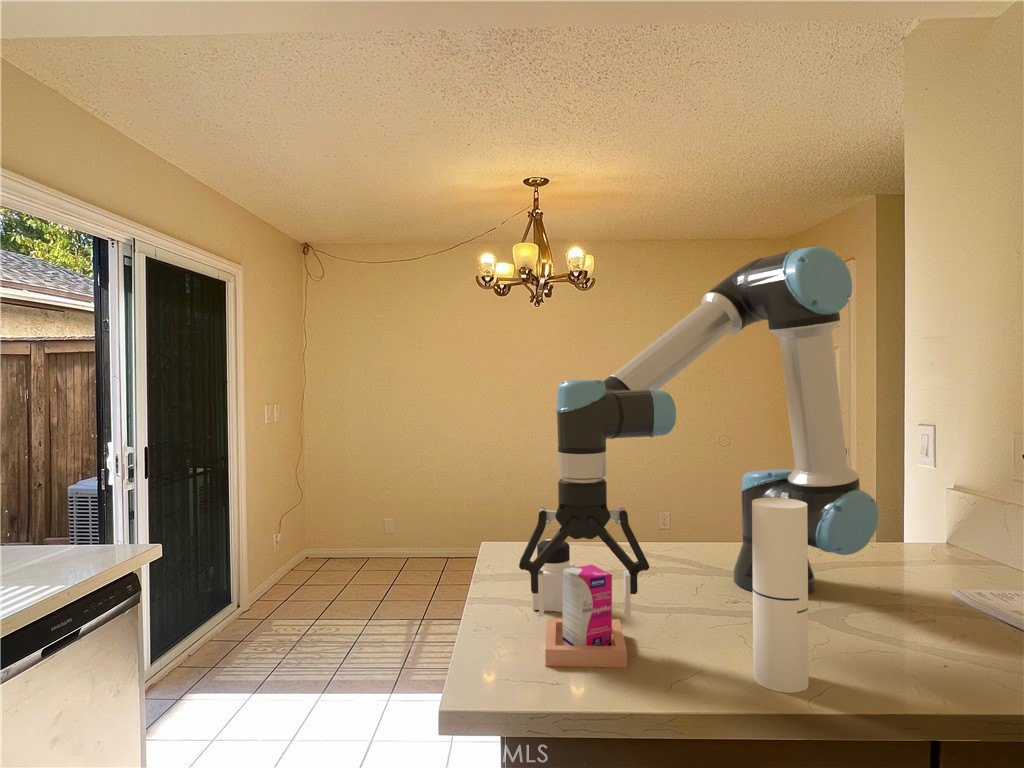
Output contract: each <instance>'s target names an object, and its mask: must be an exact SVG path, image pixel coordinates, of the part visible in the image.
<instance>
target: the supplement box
mask: <svg viewBox="0 0 1024 768" xmlns="http://www.w3.org/2000/svg"><path fill="white" fill-rule="evenodd" d="M612 612H613V575H612V573H610V572H608V571H605V570H603V569H602V568H600V567H597V566H596V565H594V564H588V565H587V564H586V565H581V566H576V567H574V568H568V569H563V612H562V619H563V640H564V641H565V642H566V643H568V644H569V645H571V646H611V645H612V619H613V618H612V617H613V616H612V614H613V613H612Z"/></svg>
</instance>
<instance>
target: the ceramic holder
mask: <svg viewBox="0 0 1024 768" xmlns="http://www.w3.org/2000/svg"><path fill="white" fill-rule="evenodd" d="M545 629H546V631H545V632H546V633H545V649H544V651H545V667H569V668H571V667H573V668H574V667H575V668H578V667H579V668H580V667H582V668H623V669H624V668H628V650H627V645H626V641H625V637H624V632H623V628H622V625H621V619H619V618H617V619H616V618H612V645H611V646H571V645H569V644H568V643H566V642H565V641H564V640H563V618H546V628H545Z"/></svg>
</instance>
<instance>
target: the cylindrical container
mask: <svg viewBox="0 0 1024 768" xmlns="http://www.w3.org/2000/svg"><path fill="white" fill-rule="evenodd" d="M808 546H809V545H808V529H807V503H805V502H803V501H799V500H794V499H787V498H758V499H754V500H752V562H753V591H752V643H753V644H752V645H753V647H752V650H753V651H752V652H753V653H752V654H753V655H752V656H753V658H752V659H753V660H752V661H753V662H752V663H753V666H752V668H753V669H752V670H753V673H752V674H753V679H754V681H755V682H756V683H757V685H760V687H763V688H766V689H767V690H768V689H769V690H770V691H775V692H778V693H784V694H785V693H786V694H787V693H788V694H795V693H800V692H803V691H805V690H807V689H808V688H809V687H810V686H809V683H810V682H809V678H810V677H809V593H808V559H809V557H808V556H809V551H808Z"/></svg>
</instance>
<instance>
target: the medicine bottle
mask: <svg viewBox="0 0 1024 768" xmlns="http://www.w3.org/2000/svg"><path fill="white" fill-rule="evenodd" d="M551 539H552V538H551ZM551 539H550V538H549V539H544V540H541V541H539V542H538V544H537V546H536V554H537V555H536V558H537V557H538V555H539V554H540V553H541V552H542V550H543V549H544V548H545V547H546V546H547V544H548V543H549V542H550V541H551ZM570 549H571V548H570V544H569V543H568V542H567V541H566V540H565V541H564V542H562V543H561V545H560V546H559V547H558V548H557V549H556V551H555V552H554V553H553V554H552V556H551V557H550V558H549V559H548V560H547V562H546V563H545V564H544V565H543V566H542V568H541V569H543V580H544V612H547V611H555V612H554V613H563V569H568V568H574V567H575V563H574V562H570V561H571V560H570V558H571V556H570V554H571V553H570ZM531 594H532V595H531V600H532V601H531V602H532V604H531V605H532V606H531V607H532V608H531V609H532V611H533V610H539V604H538V593H532V592H531Z"/></svg>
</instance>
